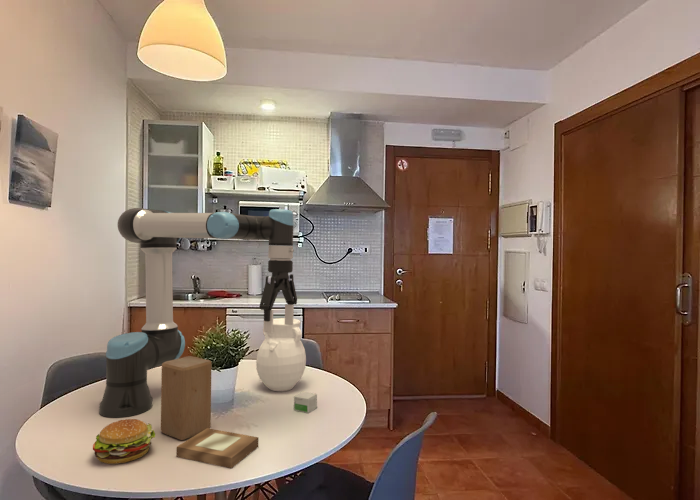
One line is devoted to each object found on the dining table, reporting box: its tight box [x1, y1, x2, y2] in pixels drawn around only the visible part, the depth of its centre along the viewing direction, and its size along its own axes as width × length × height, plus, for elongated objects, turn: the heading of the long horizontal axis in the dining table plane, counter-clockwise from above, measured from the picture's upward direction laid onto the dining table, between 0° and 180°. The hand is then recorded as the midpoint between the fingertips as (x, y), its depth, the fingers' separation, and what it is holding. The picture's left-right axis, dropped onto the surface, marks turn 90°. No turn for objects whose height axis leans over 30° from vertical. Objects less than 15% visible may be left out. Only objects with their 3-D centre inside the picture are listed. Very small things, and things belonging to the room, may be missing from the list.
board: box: [175, 428, 259, 469], centre depth 111 cm, size 16×12×3 cm
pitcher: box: [255, 317, 307, 392], centre depth 164 cm, size 19×18×25 cm
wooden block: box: [160, 355, 213, 441], centre depth 123 cm, size 10×10×20 cm
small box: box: [293, 390, 318, 414], centre depth 142 cm, size 6×6×5 cm
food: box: [92, 418, 156, 465], centre depth 110 cm, size 14×14×8 cm
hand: (279, 328), depth 135 cm, fingers open, 13 cm apart
